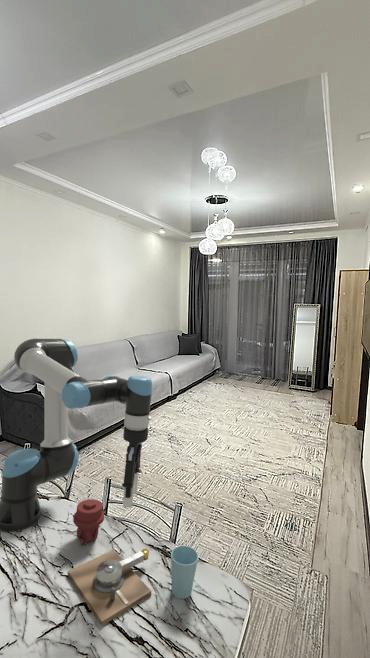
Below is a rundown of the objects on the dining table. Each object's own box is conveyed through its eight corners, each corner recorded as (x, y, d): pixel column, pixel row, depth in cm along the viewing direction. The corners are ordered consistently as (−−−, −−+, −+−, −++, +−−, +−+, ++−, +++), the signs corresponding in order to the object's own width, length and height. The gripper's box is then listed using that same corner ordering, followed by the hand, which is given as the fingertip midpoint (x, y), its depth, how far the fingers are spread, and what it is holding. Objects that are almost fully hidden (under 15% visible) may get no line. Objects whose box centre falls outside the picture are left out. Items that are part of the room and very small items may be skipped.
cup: (187, 607, 87) (191, 569, 87) (162, 594, 91) (166, 557, 90) (199, 588, 94) (202, 552, 94) (175, 576, 97) (178, 542, 97)
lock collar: (91, 575, 92) (92, 564, 92) (140, 551, 104) (141, 541, 104) (103, 592, 87) (104, 580, 87) (154, 564, 99) (155, 554, 99)
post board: (67, 574, 94) (68, 561, 94) (113, 553, 105) (114, 540, 104) (101, 626, 80) (103, 610, 80) (151, 595, 90) (152, 580, 90)
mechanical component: (107, 532, 114) (93, 552, 104) (81, 526, 116) (65, 545, 106) (110, 498, 114) (97, 514, 104) (84, 492, 116) (68, 507, 106)
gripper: (143, 439, 91) (136, 520, 92) (152, 418, 111) (146, 485, 112) (116, 436, 92) (109, 517, 92) (130, 416, 111) (125, 482, 112)
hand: (130, 499), depth 102 cm, fingers open, 7 cm apart
